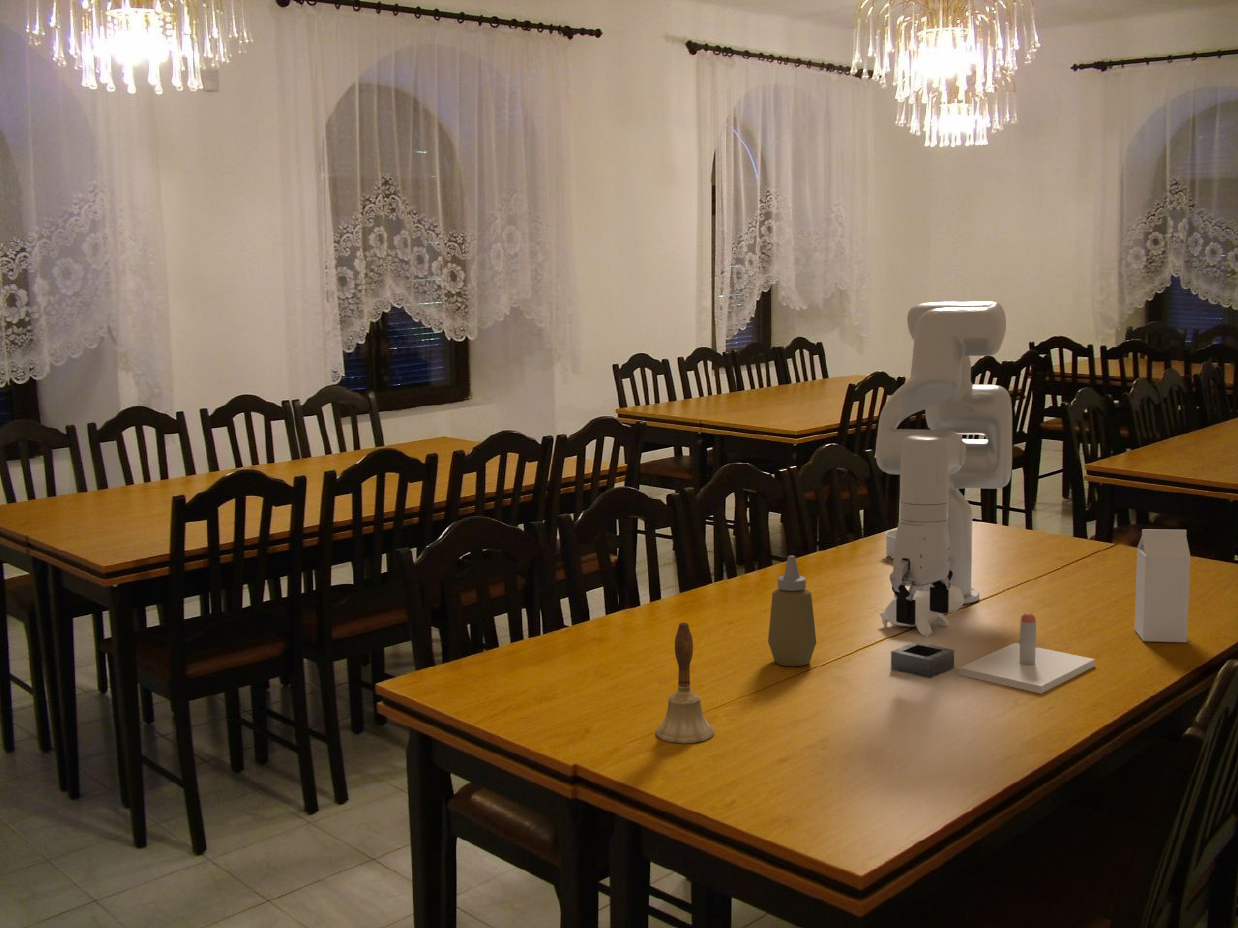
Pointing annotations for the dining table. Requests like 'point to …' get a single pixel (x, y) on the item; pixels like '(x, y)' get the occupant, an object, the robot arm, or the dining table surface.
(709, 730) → the hand bell
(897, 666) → the grey square socket block
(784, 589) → the squeeze bottle
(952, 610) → the white turtle figurine
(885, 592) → the dining table surface
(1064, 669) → the white peg stand
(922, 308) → the robot arm
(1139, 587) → the milk carton
